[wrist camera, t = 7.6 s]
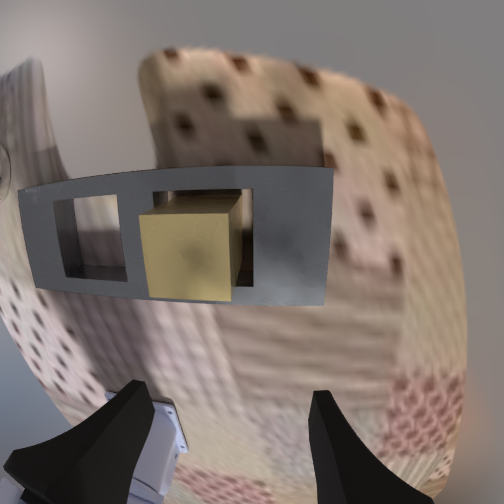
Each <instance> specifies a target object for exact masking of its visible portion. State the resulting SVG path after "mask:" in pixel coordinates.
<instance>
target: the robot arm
mask: <svg viewBox="0 0 504 504" xmlns="http://www.w3.org/2000/svg"><path fill="white" fill-rule="evenodd" d="M105 397H106V399H107V401H108V402H107V403H106V404H105V405H103V406H102V407H101V408H100V409H99V410H97V411H96V412H95V413H94V414H92V415H91V416H90V417H88V418H87V419H86V420H84V421H83V422H81V423H80V424H78V425H77V426H75V427H73V428H72V429H70V430H68V431H67V432H65V433H63V434H61V435H59V436H57V437H55V438H52V439H50V440H48V441H45V442H43V443H40V444H37V445H34V446H30V447H26V448H22V449H17V450H14V451H13V452H12V453H11V455H10V457H9V458H8V460H7V461H6V463H5V464H4V466H3V467H4V470H5V471H6V472H7V473H8V474H9V475H10V476H11V477H12V478H14V479H15V480H16V481H17V482H18V483H20V484H21V485H22V486H23V487H24V488H25V490H24V491H22V490H20V489H19V488H18V487H16V486H15V485H14V484H12V483H11V482H10V481H8V480H7V479H6V478H3V479H2V481H1V483H0V504H164V503H163V499H164V495H165V494H166V493H167V492H168V490H169V489H170V486H171V482H172V479H173V475H174V471H175V468H176V464H177V461H178V457H179V454H180V452H183V453H187V452H188V450H189V449H188V446H187V444H186V441H185V438H184V435H183V432H182V429H181V426H180V423H179V420H178V417H177V414H176V410H175V408H174V406H173V405H171V404H165V403H159V402H154V401H152V400H151V398H150V395H149V392H148V389H147V387H146V384H145V382H144V381H138V380H132V381H131V382H130V383H128V384H127V385H126V386H125V387H124V388H123V389H122V390H121V391H119V392H118V393H117V394H116V393H112V392H106V393H105ZM308 425H309V441H310V447H311V453H312V459H313V465H314V470H315V476H316V483H317V499H318V504H434V502H433V500H432V498H431V497H429V496H427V495H425V494H423V493H421V492H420V491H418V490H416V489H415V488H413V487H412V486H410V485H409V484H407V483H406V482H404V481H403V480H402V479H400V478H399V477H398V476H396V475H395V474H394V473H393V472H392V471H390V470H389V469H388V468H387V467H386V466H385V465H383V464H382V463H381V462H380V461H379V460H378V459H377V458H376V457H375V456H374V455H373V454H372V452H371V451H370V450H369V449H368V448H367V447H366V446H365V444H364V443H363V442H362V441H361V439H360V438H359V437H358V436H357V434H356V433H355V432H354V430H353V429H352V427H351V426H350V424H349V423H348V422H347V420H346V419H345V417H344V415H343V414H342V412H341V410H340V409H339V407H338V405H337V404H336V402H335V400H334V398H333V396H332V394H331V392H330V391H329V390H321V391H314V392H313V398H312V403H311V408H310V413H309V418H308Z"/></svg>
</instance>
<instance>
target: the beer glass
mask: <svg viewBox="0 0 504 504" xmlns="http://www.w3.org/2000/svg"><path fill="white" fill-rule="evenodd" d="M9 184H10V162H9V157H8V154H7V152H6V150H5V148H4V147H3V146H2V145H0V204H1V203H2V202H3V201H4V199H5V197H6V195H7V192H8V189H9Z"/></svg>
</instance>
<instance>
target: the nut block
mask: <svg viewBox="0 0 504 504" xmlns="http://www.w3.org/2000/svg"><path fill="white" fill-rule="evenodd" d="M139 223H140V232H141V241H142V249H143V257H144V264H145V271H146V277H147V284H148V290H149V296H150V297H155V298H171V299H188V300H208V301H232V297H233V293H234V289H235V285H236V281H237V278H238V274H239V270H240V266H241V262H242V258H243V224H242V195H187V196H178V197H176V198H173V199H171V200H169V201H167V202H165V203H163V204H161V205H159V206H156V207H154V208H152V209H150V210H148V211H146V212H144V213H142V214H140V215H139Z"/></svg>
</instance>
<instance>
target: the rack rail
mask: <svg viewBox="0 0 504 504" xmlns="http://www.w3.org/2000/svg"><path fill="white" fill-rule="evenodd" d="M333 174H334V168H329V167H319V166H294V165H220V166H195V167H178V168H164V169H151V170H140V171H131V172H121V173H113V174H105V175H97V176H90V177H83V178H77V179H71V180H65V181H59V182H53V183H48V184H43V185H37V186H33V187H29V188H25V189H21V190H18V199H19V208H20V215H21V222H22V228H23V234H24V240H25V245H26V250H27V254H28V259H29V263H30V267H31V272H32V275H33V279H34V283H35V286H36V288H42V289H49V290H56V291H64V292H72V293H81V294H90V295H99V296H109V297H119V298H130V299H142V300H155V301H170V302H186V303H206V304H230V305H270V306H324V297H325V289H326V279H327V269H328V259H329V247H330V234H331V219H332V200H333ZM200 189H253V264H254V271H239V274H238V278H237V281H236V285H235V289H234V293H233V297H232V301H208V300H188V299H171V298H155V297H150V296H149V290H148V284H147V277H146V271H145V264H144V257H143V249H142V241H141V232H140V223H139V215H140V214H142V213H144V212H146V211H148V210H150V209H152V208H154V207H156V206H159V205H161V204H163V203H165V202H167V201H168V196H167V191H174V190H200ZM112 194H117V204H118V215H119V224H120V232H121V240H122V247H123V254H124V260H125V267H105V266H84V265H83V263H82V258H81V253H80V247H79V241H78V235H77V228H76V221H75V213H74V205H73V198H81V197H91V196H101V195H112Z"/></svg>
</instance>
